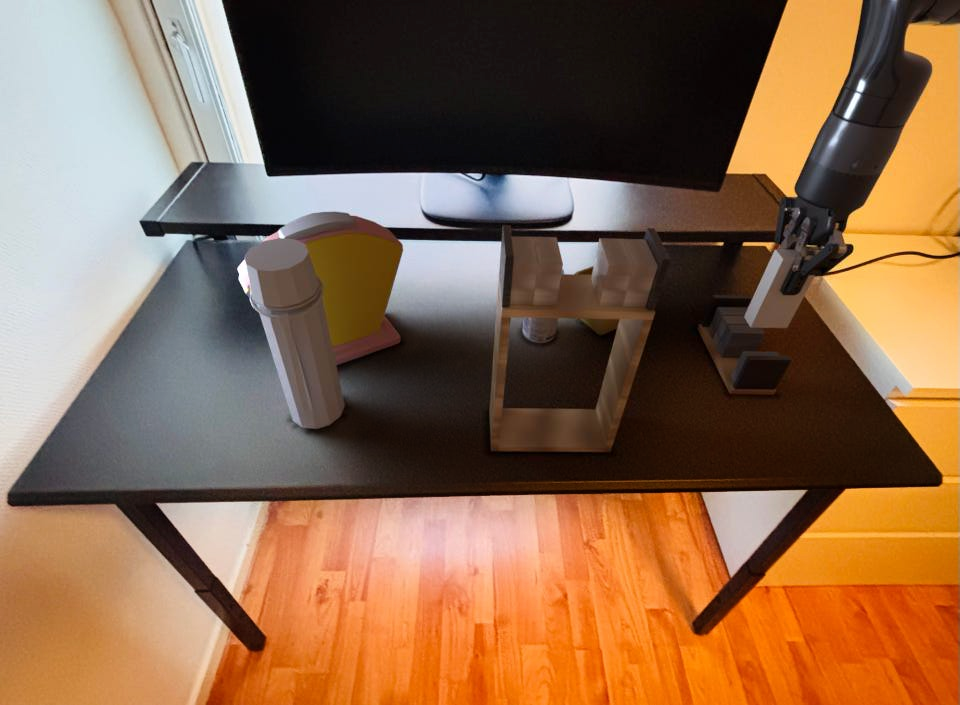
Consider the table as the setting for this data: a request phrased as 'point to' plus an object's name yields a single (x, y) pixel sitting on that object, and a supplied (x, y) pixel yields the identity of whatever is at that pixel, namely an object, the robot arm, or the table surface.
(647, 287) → the wooden book holder
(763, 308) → the white book
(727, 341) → the grey rack
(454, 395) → the table surface
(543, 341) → the energy drink
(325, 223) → the yellow napkin holder
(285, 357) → the water bottle
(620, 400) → the birch stand
